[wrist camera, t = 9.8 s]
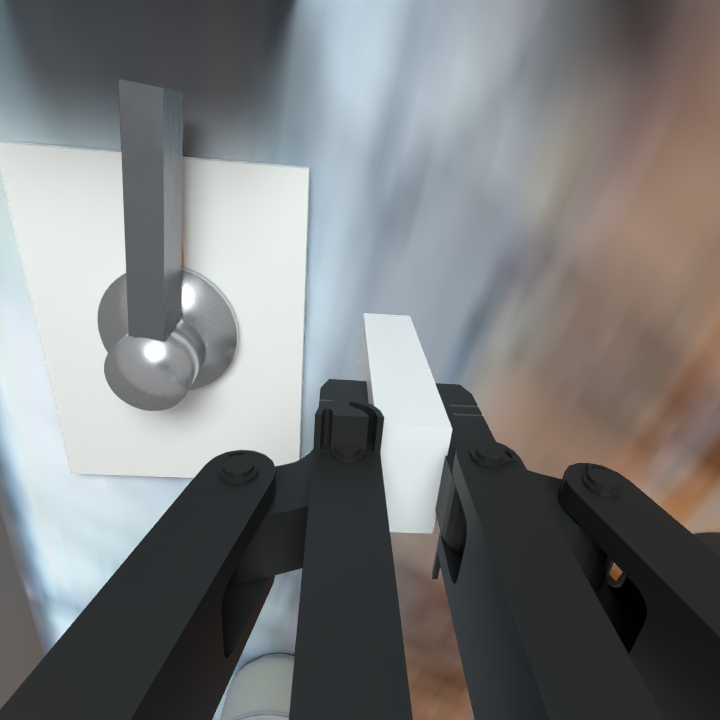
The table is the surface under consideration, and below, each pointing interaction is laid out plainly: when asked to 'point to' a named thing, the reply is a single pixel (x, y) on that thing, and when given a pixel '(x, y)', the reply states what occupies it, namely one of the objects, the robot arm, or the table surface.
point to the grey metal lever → (159, 269)
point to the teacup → (261, 690)
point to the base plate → (199, 252)
